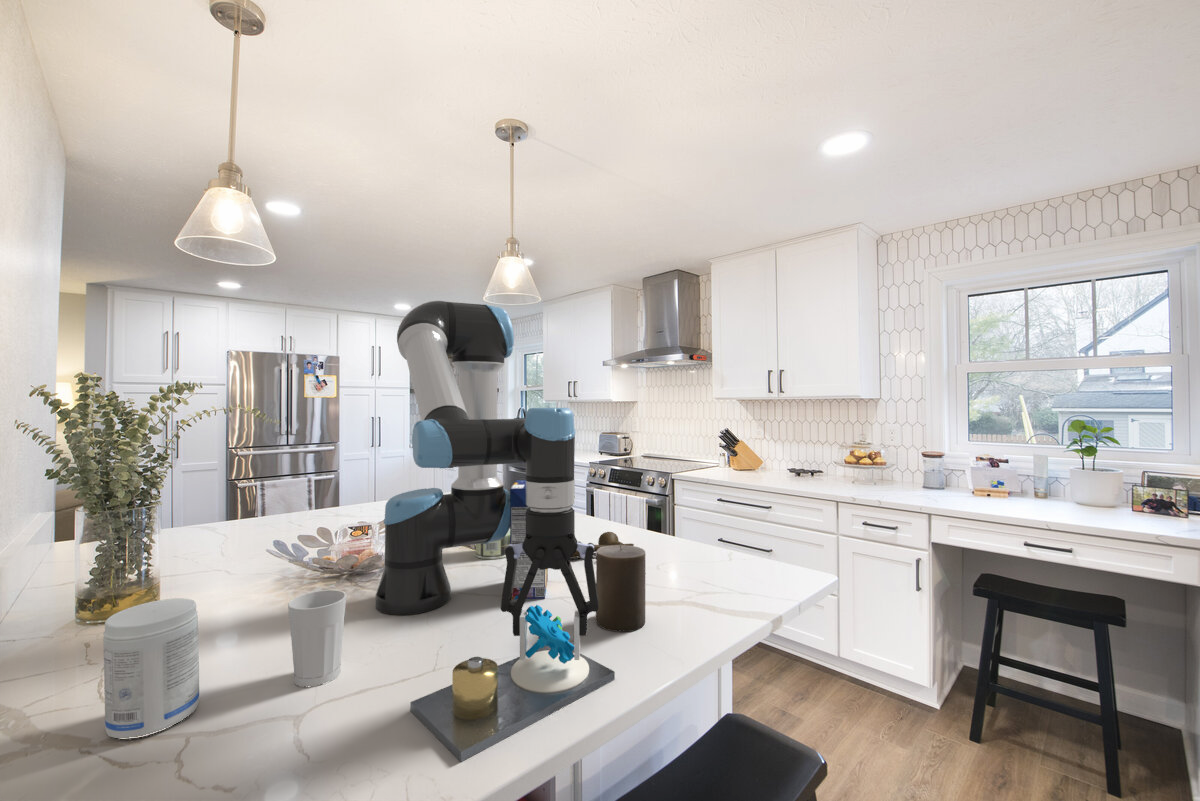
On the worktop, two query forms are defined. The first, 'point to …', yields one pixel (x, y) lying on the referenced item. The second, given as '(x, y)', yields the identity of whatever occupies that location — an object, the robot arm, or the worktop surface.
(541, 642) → the gear
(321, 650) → the cup
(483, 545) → the coffee can
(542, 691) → the disc
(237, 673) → the worktop surface
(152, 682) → the supplement tub
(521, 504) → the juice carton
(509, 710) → the carrier plate
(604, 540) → the kendama
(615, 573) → the pillar candle
